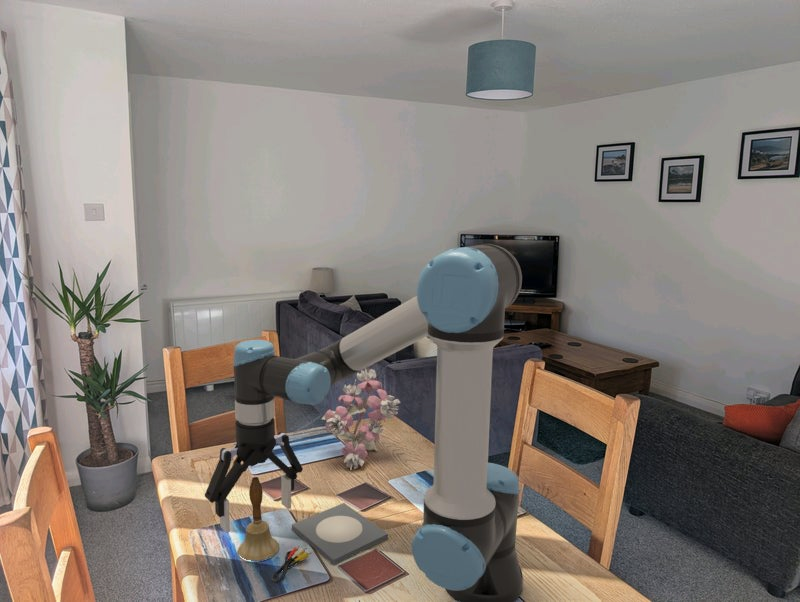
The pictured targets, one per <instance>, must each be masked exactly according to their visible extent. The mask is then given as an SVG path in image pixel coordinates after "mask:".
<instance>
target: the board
mask: <svg viewBox="0 0 800 602" xmlns="http://www.w3.org/2000/svg"><path fill="white" fill-rule="evenodd" d="M291 530H292V531H293V532H294V533H295V534H296V535H298V536H299V537H300V538H301V539H302V540H304V541H305V542H306V543H307V544H309V545H308V546H311V548H313V549H314V550H315V551H316V552H317V553H319V554H320V555H321V556H322V557H323V558H324V559H325V560H326V561H328V562H329V563H330V564H331V565H333V566H335V565H337V564H340V563H341V562H343V561H346V560H348V559H349V558H352V557H353V556H355V555H358V554H360V553H362V552H364V551H366V550H367V549H370V548H371V547H374V546H376V545H378V544H380V543H382V542H384V541H386V540H388V539H389V536H388V535H389V533H388V532H386V531H384V530H383V529H382V528H380V527H379V526H377V525H376V524H375V523H374V522H372V521H371V520H369V519H367V517H365V516H364V515H362V514H360V513H359V512H358V511H357V510H355V509H353V508H352V507H350V506H349V505H348V504H346V503H345V502H343V503H340V504H338V505H335V506H333V507H331V508H328V509H326V510H323V511H321V512H318V513H317V514H316V513H315V514H314V515H311V516H309V517H306V518H304V519H301V520H299V521H296V522H293V523H292V524H291Z"/></svg>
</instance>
